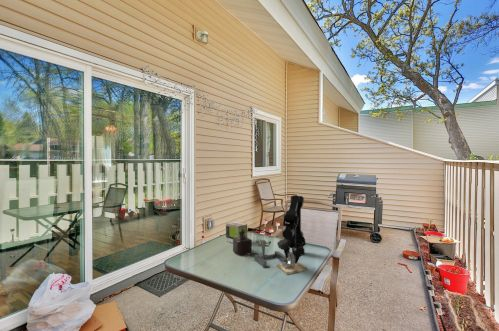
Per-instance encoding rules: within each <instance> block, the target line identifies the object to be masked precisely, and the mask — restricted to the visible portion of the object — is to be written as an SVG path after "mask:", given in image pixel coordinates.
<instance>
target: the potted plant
mask: <svg viewBox="0 0 499 331" xmlns="http://www.w3.org/2000/svg"><path fill="white" fill-rule="evenodd" d="M239 234H240V236H239V237H237V238H233V243H232V252H233V253H234V254H235V255H238V256H244V255H250V254H252V251H253V250H252V249H253V248H252V247H253V246H252V244H253V243H252V242H253V240H252V239H251V238H249V237H248V236H247V237H246V234H245V231H243V229H241V230H240V231H239ZM243 235H244V236H243Z"/></svg>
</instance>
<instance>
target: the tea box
mask: <svg viewBox="0 0 499 331" xmlns="http://www.w3.org/2000/svg"><path fill="white" fill-rule="evenodd" d="M241 229H243V231H245V234H246V237H248V223H243V222H238V221H230V222H227V223H225V240H226V241H225V242H227V241H228V242H227V243H230V242H231V243H230V244H233V238H237V237H239V236H240V234H239V231H240V230H241ZM243 236H244V235H243Z"/></svg>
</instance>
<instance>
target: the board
mask: <svg viewBox="0 0 499 331" xmlns="http://www.w3.org/2000/svg"><path fill="white" fill-rule="evenodd" d="M282 263H283V262H281V263H279V264H278V263H277V264H275V267H276V268H277V269H278V270H280V271H281V272H282V273H283V274H286V275H291V274H295V273H300V272H304V271H308V267H306V266H305V265H303V264H302V263H300V262H299V261H298V262H297V263H296V264H295V267H291V268H287V269H284V268H283V267H282Z"/></svg>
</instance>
